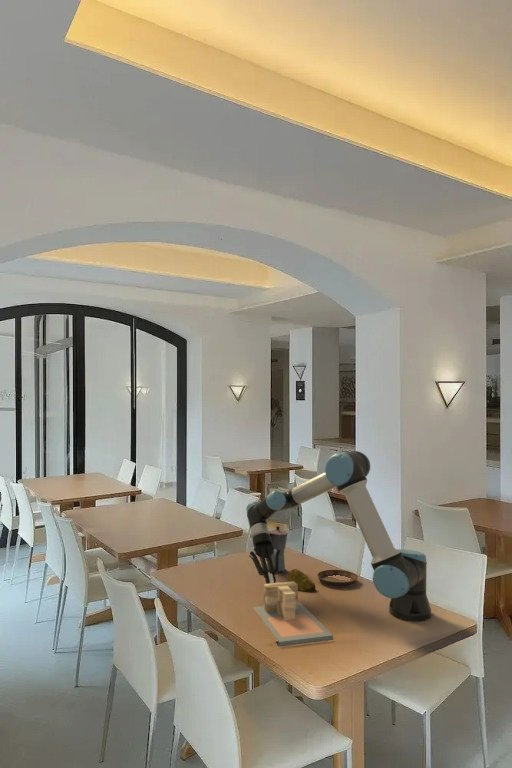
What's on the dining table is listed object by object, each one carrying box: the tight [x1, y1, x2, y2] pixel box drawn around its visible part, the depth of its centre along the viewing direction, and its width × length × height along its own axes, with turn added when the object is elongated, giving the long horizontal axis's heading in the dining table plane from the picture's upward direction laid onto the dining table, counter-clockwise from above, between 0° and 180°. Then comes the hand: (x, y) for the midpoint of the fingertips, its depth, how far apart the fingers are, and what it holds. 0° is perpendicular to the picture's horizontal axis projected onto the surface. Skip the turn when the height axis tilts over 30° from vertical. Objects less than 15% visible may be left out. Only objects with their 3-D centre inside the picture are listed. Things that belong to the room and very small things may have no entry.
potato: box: [286, 568, 316, 593], centre depth 222 cm, size 8×13×8 cm, turn 29°
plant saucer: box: [316, 569, 359, 588], centre depth 234 cm, size 18×18×3 cm
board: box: [252, 601, 334, 647], centre depth 188 cm, size 30×19×2 cm, turn 17°
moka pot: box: [266, 526, 289, 573], centre depth 249 cm, size 10×15×20 cm, turn 148°
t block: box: [263, 581, 299, 620], centre depth 195 cm, size 12×12×9 cm
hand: (273, 591), depth 206 cm, fingers closed
